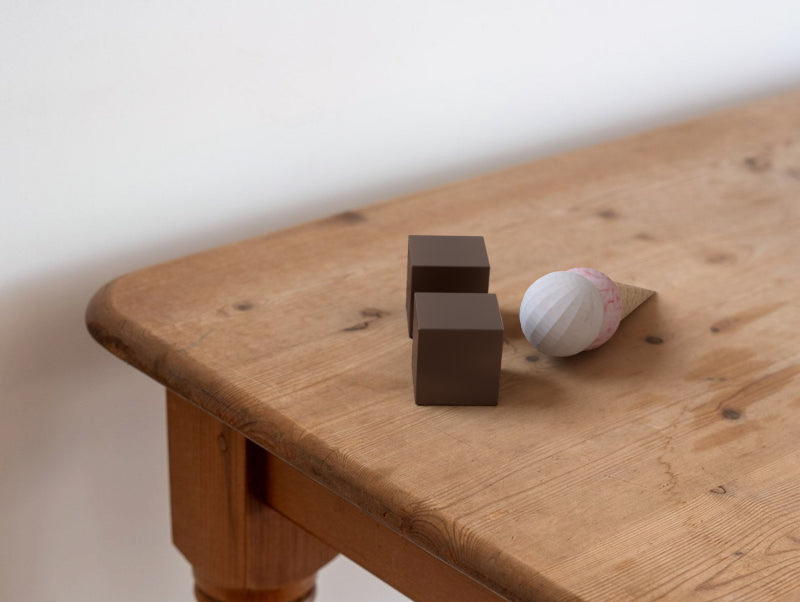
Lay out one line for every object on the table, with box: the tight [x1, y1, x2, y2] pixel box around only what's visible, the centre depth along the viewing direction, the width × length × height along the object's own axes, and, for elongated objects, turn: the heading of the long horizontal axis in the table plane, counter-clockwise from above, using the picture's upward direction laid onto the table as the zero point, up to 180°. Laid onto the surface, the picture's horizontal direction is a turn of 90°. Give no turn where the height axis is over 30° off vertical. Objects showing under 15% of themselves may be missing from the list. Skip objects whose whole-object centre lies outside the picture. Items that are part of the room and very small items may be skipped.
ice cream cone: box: [519, 266, 657, 358], centre depth 77 cm, size 5×5×15 cm
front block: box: [411, 292, 505, 406], centre depth 71 cm, size 4×4×4 cm
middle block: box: [405, 234, 491, 338], centre depth 77 cm, size 4×4×4 cm
